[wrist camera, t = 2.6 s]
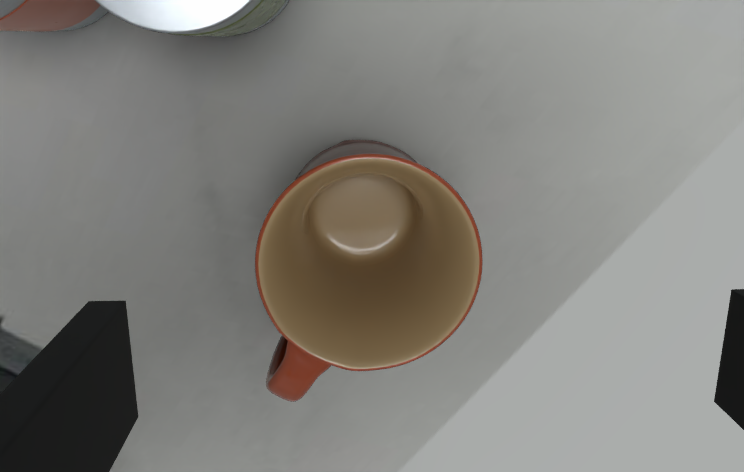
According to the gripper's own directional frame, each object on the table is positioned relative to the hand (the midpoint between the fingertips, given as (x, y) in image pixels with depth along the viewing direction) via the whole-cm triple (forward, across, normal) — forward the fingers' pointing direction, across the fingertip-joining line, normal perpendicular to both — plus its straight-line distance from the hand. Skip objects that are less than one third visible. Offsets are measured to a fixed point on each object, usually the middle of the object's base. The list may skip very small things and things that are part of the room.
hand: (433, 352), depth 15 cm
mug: (+22, -2, -3) cm, 22 cm away
